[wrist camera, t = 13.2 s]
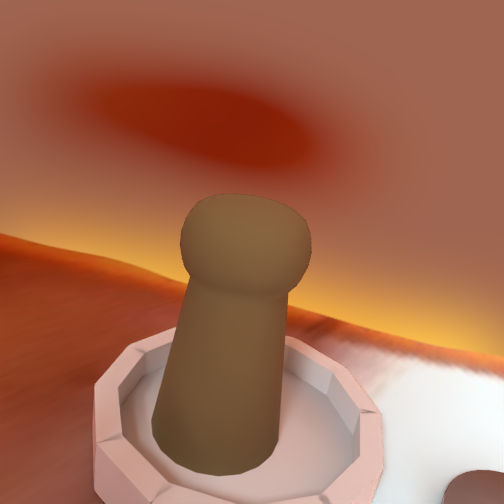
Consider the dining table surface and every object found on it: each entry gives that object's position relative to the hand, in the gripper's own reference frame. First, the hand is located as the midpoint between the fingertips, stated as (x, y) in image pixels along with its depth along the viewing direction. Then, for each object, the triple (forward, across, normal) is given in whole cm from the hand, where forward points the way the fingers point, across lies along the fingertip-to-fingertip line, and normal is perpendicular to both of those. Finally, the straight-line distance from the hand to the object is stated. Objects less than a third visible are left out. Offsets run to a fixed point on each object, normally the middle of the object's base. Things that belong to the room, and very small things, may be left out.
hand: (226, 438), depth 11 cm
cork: (+9, -1, -8) cm, 13 cm away
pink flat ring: (+10, 0, -9) cm, 13 cm away
